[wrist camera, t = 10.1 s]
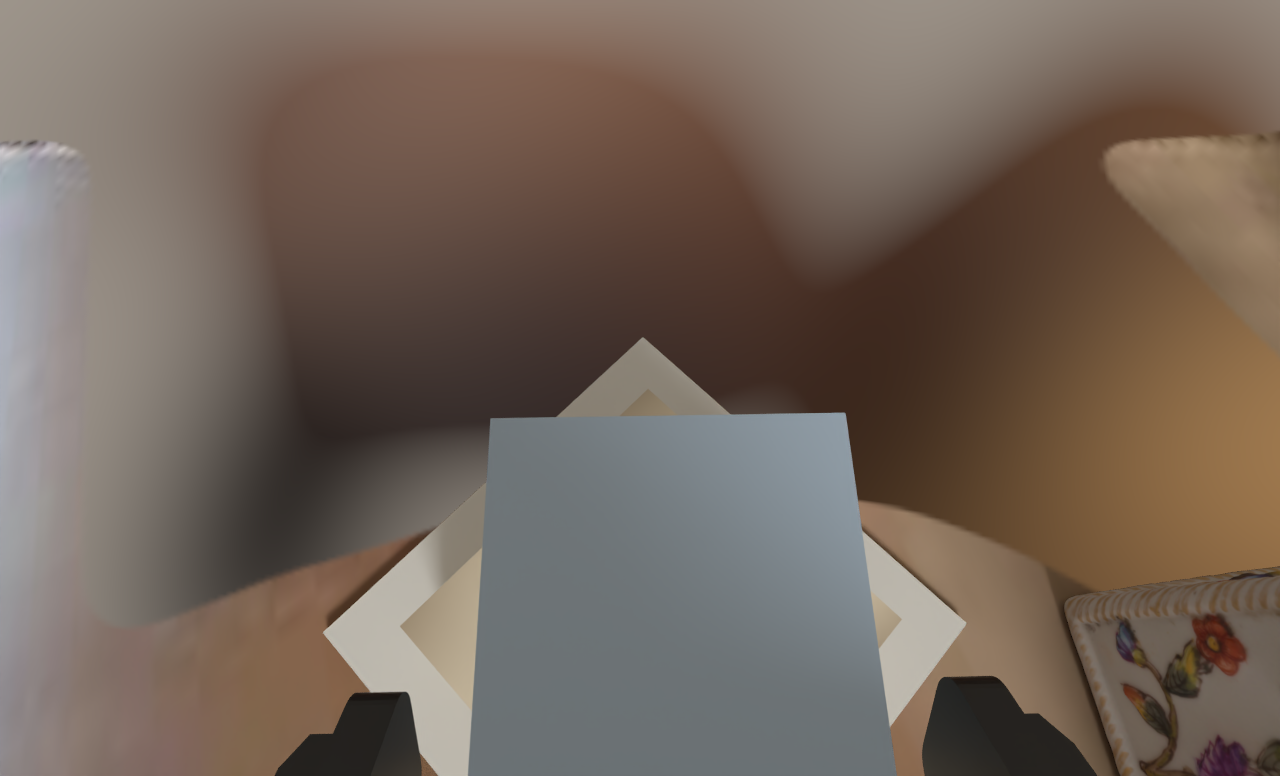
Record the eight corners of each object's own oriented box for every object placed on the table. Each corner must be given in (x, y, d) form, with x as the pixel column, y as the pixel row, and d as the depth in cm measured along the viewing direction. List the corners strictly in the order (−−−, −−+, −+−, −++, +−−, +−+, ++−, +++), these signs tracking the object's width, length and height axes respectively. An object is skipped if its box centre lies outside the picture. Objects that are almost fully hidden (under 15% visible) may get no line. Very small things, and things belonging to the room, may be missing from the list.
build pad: (327, 632, 24) (322, 632, 23) (642, 341, 28) (642, 336, 28) (654, 1035, 20) (655, 1043, 19) (961, 623, 24) (966, 623, 24)
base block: (445, 630, 23) (399, 626, 19) (644, 435, 26) (648, 388, 21) (652, 868, 21) (658, 931, 16) (848, 624, 24) (902, 619, 19)
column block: (559, 729, 18) (463, 839, 8) (562, 538, 20) (489, 418, 9) (746, 724, 18) (904, 825, 8) (732, 536, 20) (845, 412, 9)
